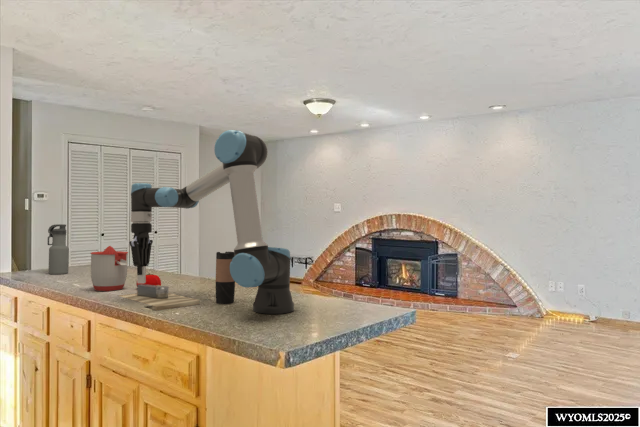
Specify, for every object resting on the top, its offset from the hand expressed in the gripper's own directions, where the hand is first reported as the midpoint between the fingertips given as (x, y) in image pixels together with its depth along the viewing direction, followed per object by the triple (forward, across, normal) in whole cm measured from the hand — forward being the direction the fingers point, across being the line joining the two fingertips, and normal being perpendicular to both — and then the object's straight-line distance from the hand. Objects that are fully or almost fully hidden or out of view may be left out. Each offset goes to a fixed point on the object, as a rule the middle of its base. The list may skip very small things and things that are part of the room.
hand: (141, 283), depth 176 cm
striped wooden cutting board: (+8, +4, -5) cm, 10 cm away
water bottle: (+5, +66, +91) cm, 113 cm away
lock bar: (+6, +6, -1) cm, 8 cm away
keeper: (+6, +11, -1) cm, 13 cm away
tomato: (+8, +22, +10) cm, 26 cm away
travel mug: (+9, +8, -31) cm, 33 cm away
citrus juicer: (+7, +24, +30) cm, 39 cm away
